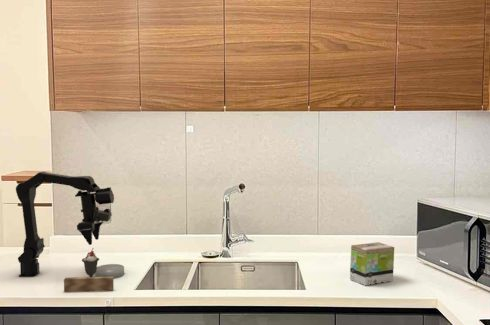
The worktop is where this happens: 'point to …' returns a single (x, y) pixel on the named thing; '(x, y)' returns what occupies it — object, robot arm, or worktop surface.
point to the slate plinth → (110, 271)
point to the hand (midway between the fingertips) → (93, 242)
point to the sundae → (90, 263)
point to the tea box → (371, 263)
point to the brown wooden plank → (88, 284)
